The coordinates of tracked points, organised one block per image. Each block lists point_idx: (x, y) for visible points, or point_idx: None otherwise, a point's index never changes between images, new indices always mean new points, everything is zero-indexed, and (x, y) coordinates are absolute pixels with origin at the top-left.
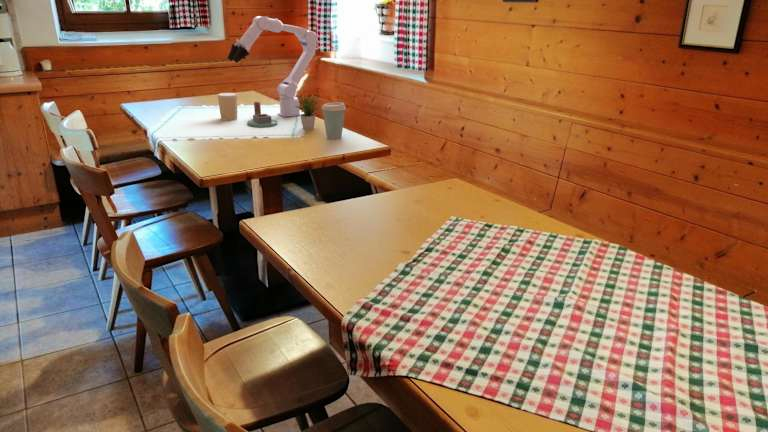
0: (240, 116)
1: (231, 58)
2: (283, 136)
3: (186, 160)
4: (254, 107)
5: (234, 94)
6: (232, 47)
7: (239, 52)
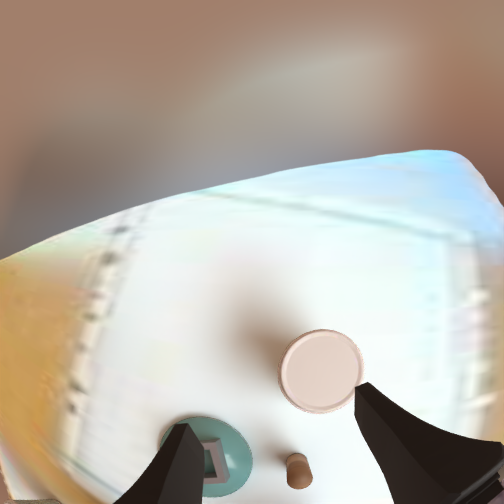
0: (337, 411)
1: (362, 423)
2: (73, 445)
3: (29, 249)
4: (296, 463)
5: (319, 402)
6: (432, 466)
7: (130, 502)
